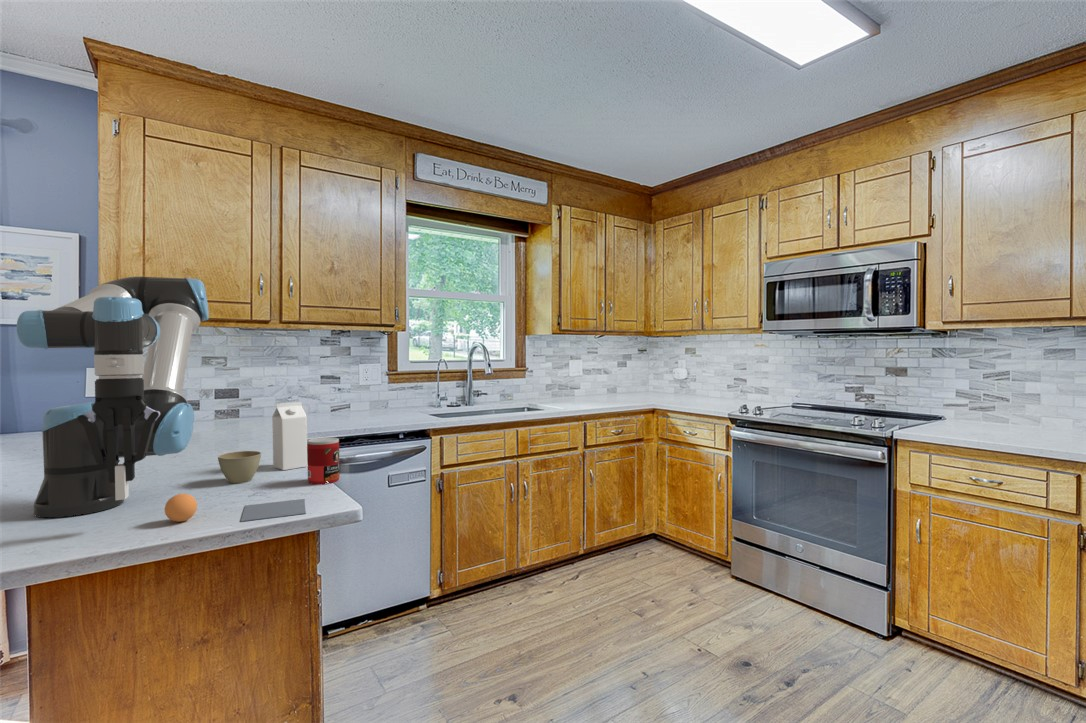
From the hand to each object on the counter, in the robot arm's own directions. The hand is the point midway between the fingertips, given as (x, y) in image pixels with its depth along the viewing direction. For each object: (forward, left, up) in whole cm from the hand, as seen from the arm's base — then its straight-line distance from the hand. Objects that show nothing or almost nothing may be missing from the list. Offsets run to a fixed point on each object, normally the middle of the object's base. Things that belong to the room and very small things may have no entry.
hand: (122, 498), depth 106 cm
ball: (+10, 0, -3) cm, 10 cm away
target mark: (+27, 0, -6) cm, 27 cm away
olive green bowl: (+18, +33, -6) cm, 38 cm away
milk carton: (+30, +46, -6) cm, 55 cm away
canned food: (+38, +23, -6) cm, 45 cm away
